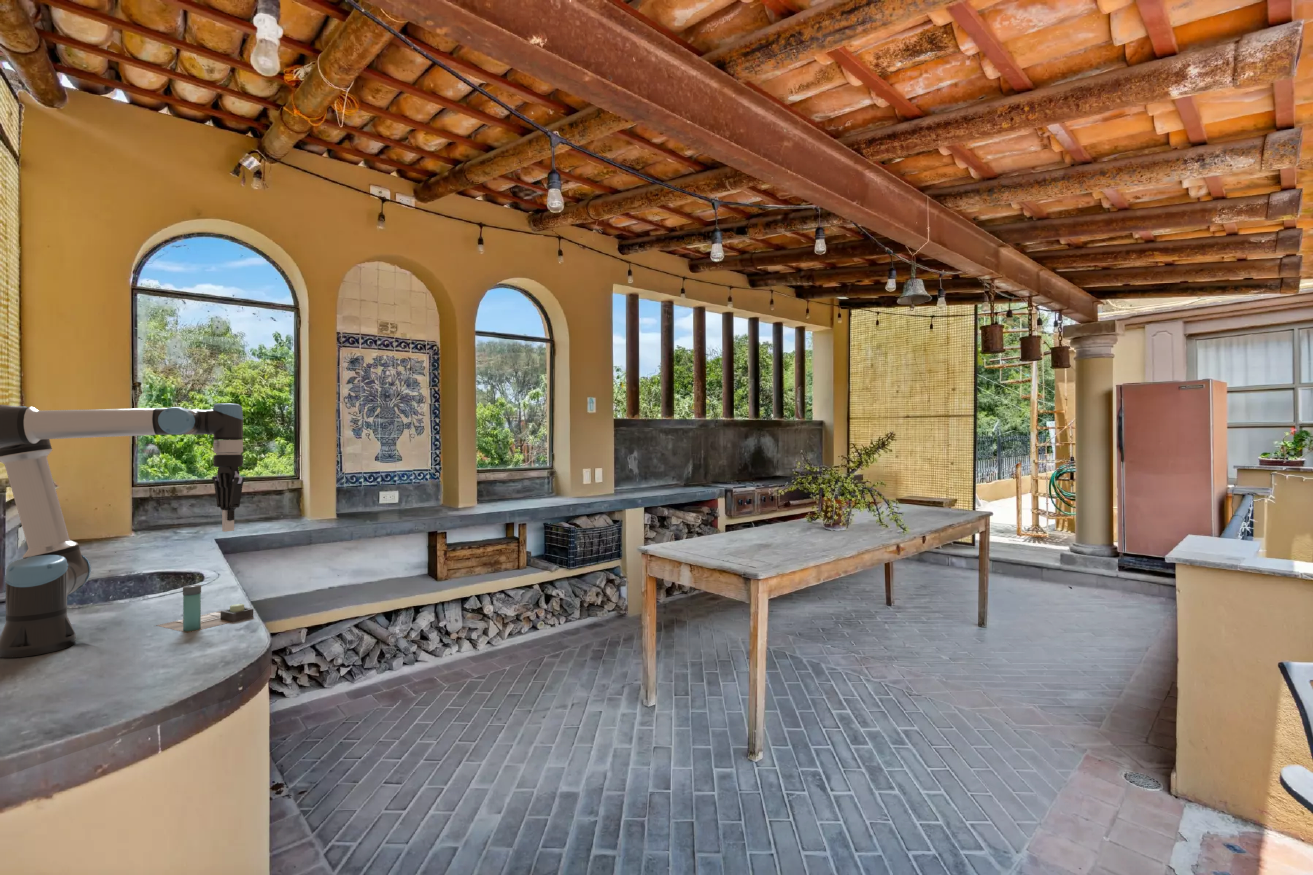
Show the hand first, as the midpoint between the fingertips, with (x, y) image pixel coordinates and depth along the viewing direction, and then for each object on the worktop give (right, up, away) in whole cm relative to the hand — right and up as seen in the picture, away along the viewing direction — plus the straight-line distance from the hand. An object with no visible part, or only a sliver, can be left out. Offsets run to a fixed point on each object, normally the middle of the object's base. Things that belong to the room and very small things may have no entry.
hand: (228, 530), depth 199 cm
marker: (+1, -25, -17) cm, 30 cm away
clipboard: (-1, -26, -9) cm, 28 cm away
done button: (+6, -24, -5) cm, 26 cm away
